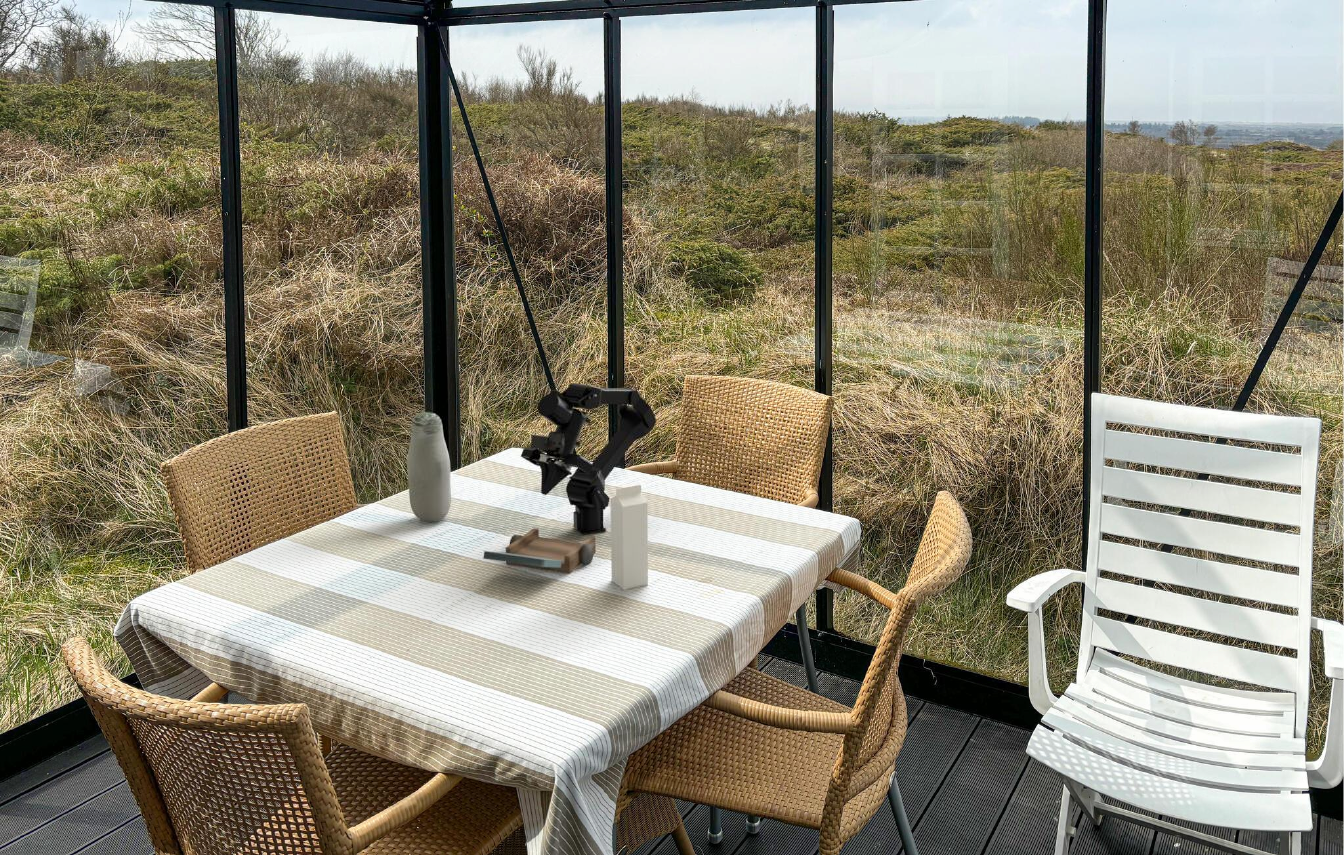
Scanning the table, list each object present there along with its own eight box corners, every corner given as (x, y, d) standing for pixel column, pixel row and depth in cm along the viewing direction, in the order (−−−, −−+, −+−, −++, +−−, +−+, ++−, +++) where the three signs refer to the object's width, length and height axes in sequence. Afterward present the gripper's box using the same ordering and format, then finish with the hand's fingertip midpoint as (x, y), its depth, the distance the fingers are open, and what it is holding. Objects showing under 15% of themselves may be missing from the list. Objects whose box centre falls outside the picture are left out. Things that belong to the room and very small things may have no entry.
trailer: (528, 543, 275) (527, 525, 274) (602, 553, 269) (602, 535, 268) (499, 563, 263) (498, 545, 262) (576, 574, 256) (576, 555, 255)
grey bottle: (403, 522, 290) (396, 414, 283) (433, 511, 298) (427, 406, 291) (430, 529, 285) (424, 419, 278) (460, 518, 293) (455, 411, 286)
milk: (648, 585, 250) (648, 488, 245) (623, 590, 248) (622, 492, 242) (635, 575, 256) (635, 480, 250) (610, 580, 253) (609, 484, 247)
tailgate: (505, 552, 259) (484, 551, 250) (561, 560, 255) (542, 559, 245) (504, 559, 259) (483, 558, 250) (560, 567, 254) (541, 566, 245)
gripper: (518, 415, 272) (493, 476, 268) (574, 422, 260) (549, 486, 256) (547, 434, 280) (524, 493, 276) (603, 442, 268) (580, 504, 264)
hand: (543, 494), depth 268 cm, fingers closed
